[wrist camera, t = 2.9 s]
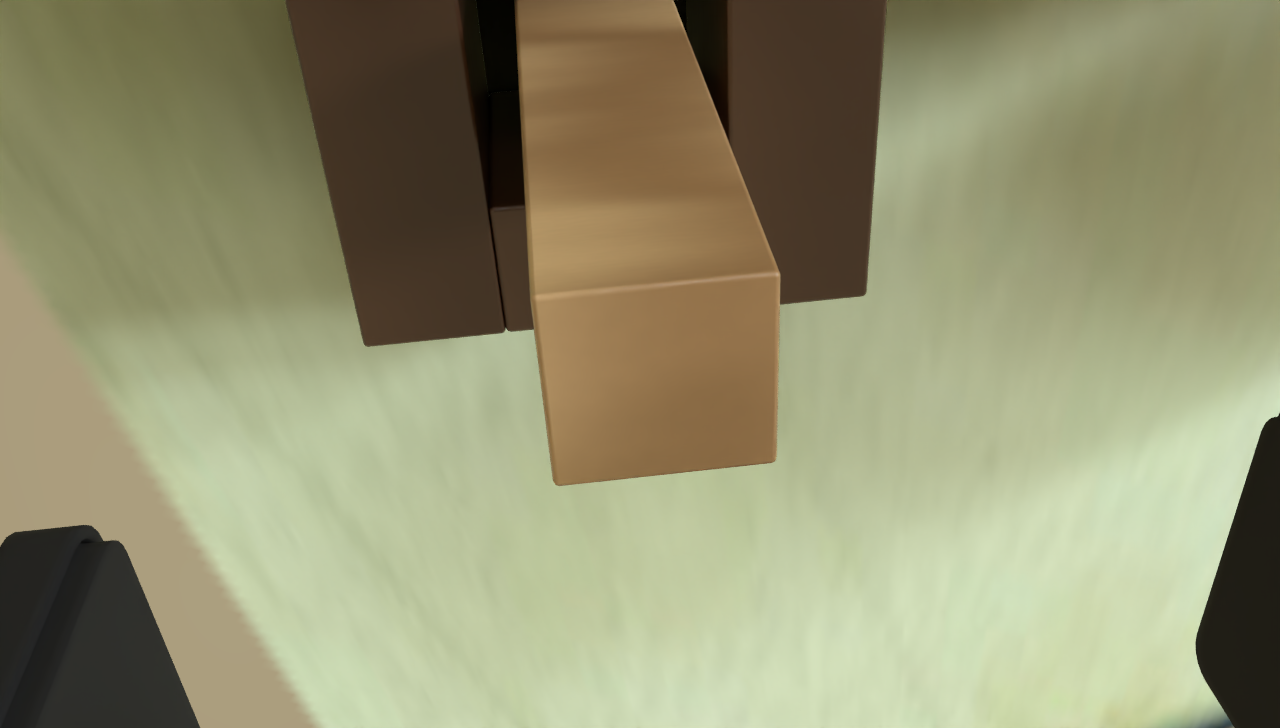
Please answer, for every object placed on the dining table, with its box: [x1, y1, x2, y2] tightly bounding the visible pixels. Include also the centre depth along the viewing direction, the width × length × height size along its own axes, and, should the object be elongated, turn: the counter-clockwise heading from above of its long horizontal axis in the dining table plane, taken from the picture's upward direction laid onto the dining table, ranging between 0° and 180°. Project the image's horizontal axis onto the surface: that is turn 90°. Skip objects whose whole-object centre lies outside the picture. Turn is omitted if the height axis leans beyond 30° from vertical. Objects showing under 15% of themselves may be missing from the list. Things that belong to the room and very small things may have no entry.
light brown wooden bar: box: [514, 0, 780, 486], centre depth 17 cm, size 2×2×13 cm
